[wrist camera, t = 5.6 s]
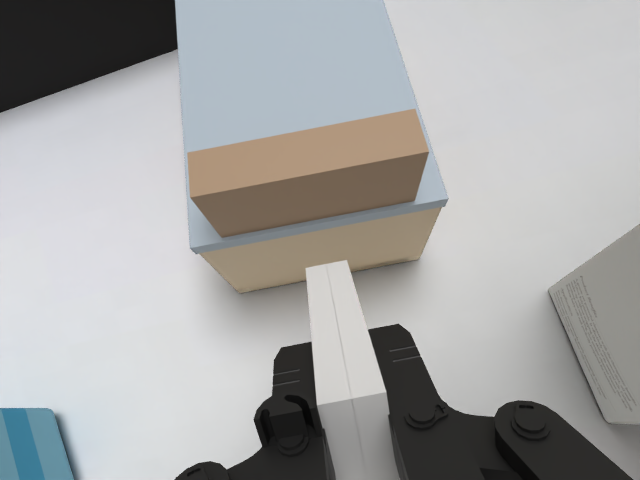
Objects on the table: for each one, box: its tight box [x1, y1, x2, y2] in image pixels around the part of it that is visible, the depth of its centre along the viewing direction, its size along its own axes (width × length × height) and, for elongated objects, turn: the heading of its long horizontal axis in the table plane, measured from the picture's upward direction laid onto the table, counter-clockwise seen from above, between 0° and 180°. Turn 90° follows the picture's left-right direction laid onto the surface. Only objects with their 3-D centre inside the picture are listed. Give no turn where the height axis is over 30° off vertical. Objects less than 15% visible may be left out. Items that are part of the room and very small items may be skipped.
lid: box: [175, 0, 449, 254], centre depth 22 cm, size 20×12×5 cm, turn 10°
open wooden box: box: [199, 207, 442, 293], centre depth 28 cm, size 20×12×8 cm, turn 10°
